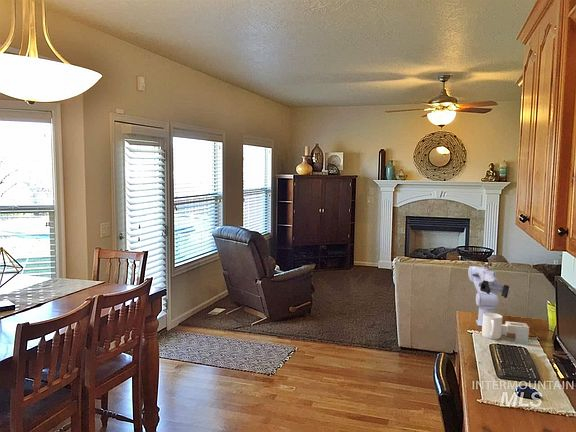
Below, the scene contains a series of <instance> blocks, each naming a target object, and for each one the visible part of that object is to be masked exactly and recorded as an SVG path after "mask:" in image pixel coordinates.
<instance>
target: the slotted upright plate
mask: <svg viewBox="0 0 576 432" xmlns="http://www.w3.org/2000/svg"><path fill="white" fill-rule="evenodd" d="M516 327H519V328H528V329H529V330H530V326H529V325H528V324H527V323H525V322H515V321H507V320H506V321H505V323H504V324H503V323H502V330H501V336H506V337H507V338H514V339H515V332H516ZM529 337H530V336H529V335H528V340H529Z"/></svg>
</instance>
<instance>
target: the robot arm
mask: <svg viewBox="0 0 576 432" xmlns="http://www.w3.org/2000/svg"><path fill="white" fill-rule="evenodd" d="M467 272H468V273H467V275H468V276H467V277H468V279H469V280H470V281H471V283H473V285H474V287H475V289H476V291H477V292H476V294H475V304H476V306H478V316H477V319H475V322H476V324H477V326H478V327H482V324H483V314H484V313H495V310H496V308H497V309H498V307H499V302H500V301H499V296H498V295H497V294H499V293H501V297H503V298H504V299H507V298H508V296H509V295H508V294H510V293H511V287H510V286H509V285H507V284H502V283H500V282H499V279H498V278H497V275H496V271H495V270H493V271H492V270H489V268H488V267H487V266H474V265H473V266H472V265H470V266H469V267H468V269H467Z"/></svg>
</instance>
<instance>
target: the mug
mask: <svg viewBox="0 0 576 432" xmlns="http://www.w3.org/2000/svg"><path fill="white" fill-rule="evenodd" d="M502 324H503V315H501V314H499V313H495V312H494V313H484V314H483V324H482V326H481V336H482V337H483V336H484V338H486V339H488V340H500V339H501V337H502V335H501V330H502Z"/></svg>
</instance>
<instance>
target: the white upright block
mask: <svg viewBox="0 0 576 432" xmlns="http://www.w3.org/2000/svg"><path fill="white" fill-rule="evenodd" d="M529 334H530V328H529V329H528V328H519V327H516V332H515V338H514V344H515V345H524V346H528V345H529V339H528V335H529Z"/></svg>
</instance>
